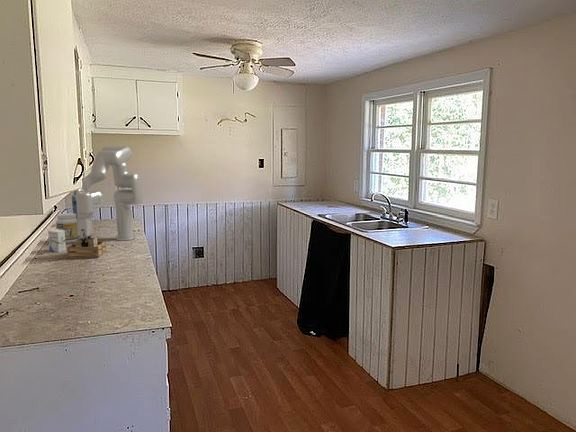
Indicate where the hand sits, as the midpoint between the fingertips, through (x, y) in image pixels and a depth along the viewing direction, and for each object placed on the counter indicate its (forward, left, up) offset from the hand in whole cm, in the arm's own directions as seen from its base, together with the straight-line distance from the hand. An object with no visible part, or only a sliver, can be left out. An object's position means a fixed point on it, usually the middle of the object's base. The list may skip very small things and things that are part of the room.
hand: (87, 247), depth 241 cm
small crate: (0, 0, -1) cm, 1 cm away
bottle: (-91, -33, -4) cm, 97 cm away
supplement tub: (-37, -23, -4) cm, 44 cm away
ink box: (-12, -20, -4) cm, 24 cm away
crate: (0, 0, -4) cm, 4 cm away
